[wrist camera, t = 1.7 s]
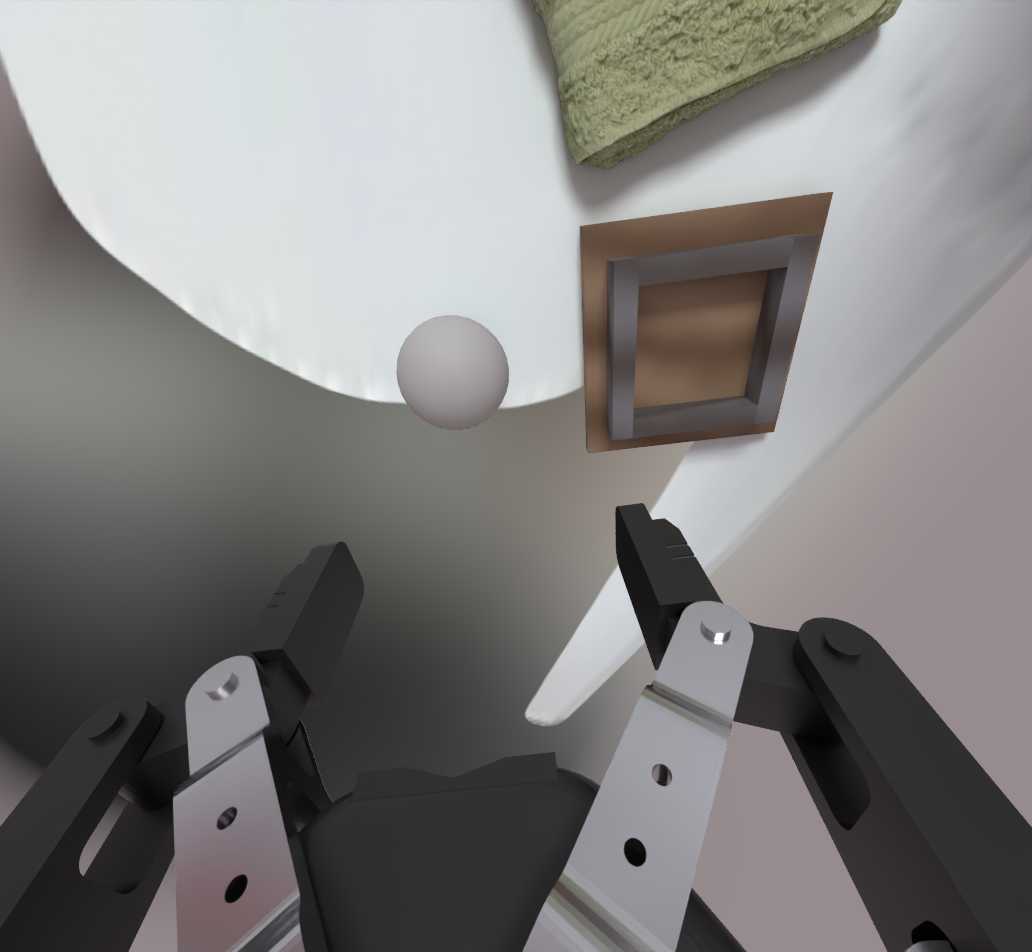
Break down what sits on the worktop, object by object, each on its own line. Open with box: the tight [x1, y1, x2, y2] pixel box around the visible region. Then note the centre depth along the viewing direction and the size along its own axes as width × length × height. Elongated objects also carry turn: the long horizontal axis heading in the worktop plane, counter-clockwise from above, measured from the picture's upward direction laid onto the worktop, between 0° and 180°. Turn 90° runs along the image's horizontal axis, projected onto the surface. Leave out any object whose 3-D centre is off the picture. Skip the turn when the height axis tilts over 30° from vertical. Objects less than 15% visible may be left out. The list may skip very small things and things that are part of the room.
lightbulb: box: [397, 316, 509, 430], centre depth 25 cm, size 6×6×11 cm
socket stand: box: [580, 192, 833, 453], centre depth 28 cm, size 16×15×3 cm
